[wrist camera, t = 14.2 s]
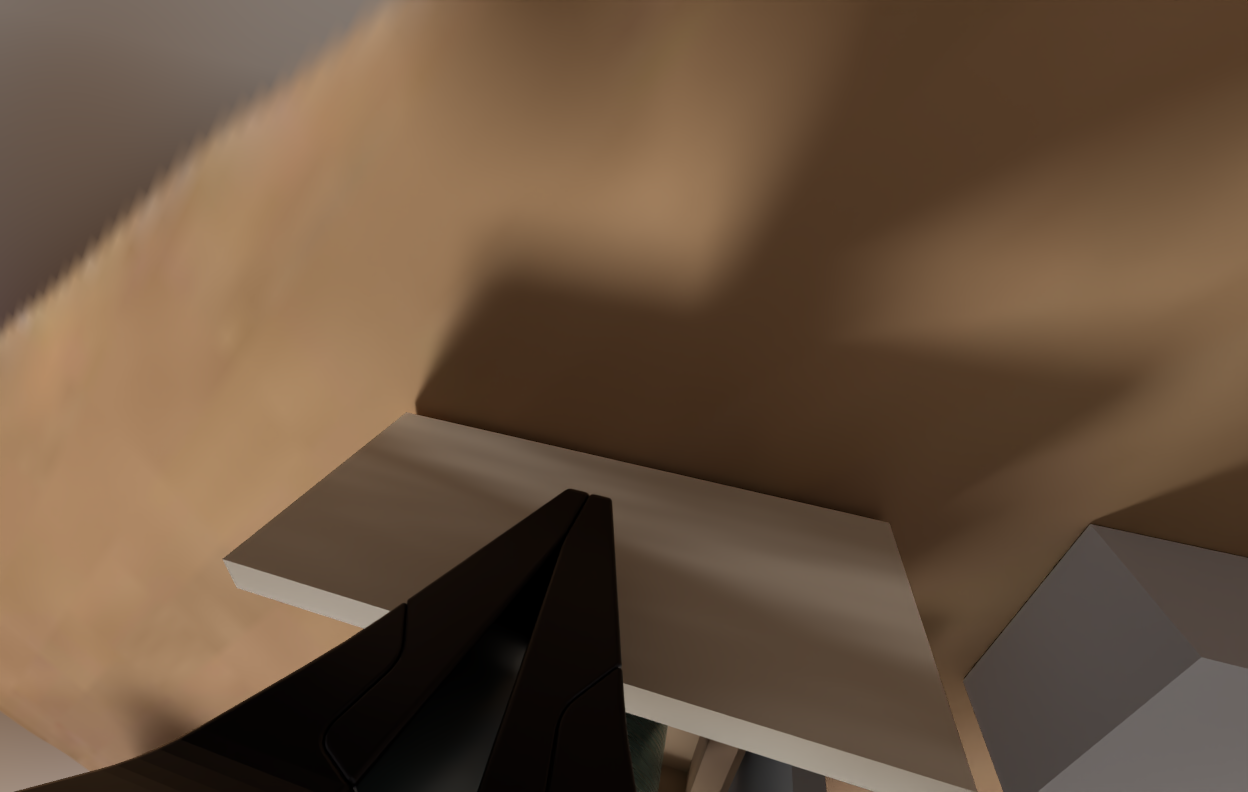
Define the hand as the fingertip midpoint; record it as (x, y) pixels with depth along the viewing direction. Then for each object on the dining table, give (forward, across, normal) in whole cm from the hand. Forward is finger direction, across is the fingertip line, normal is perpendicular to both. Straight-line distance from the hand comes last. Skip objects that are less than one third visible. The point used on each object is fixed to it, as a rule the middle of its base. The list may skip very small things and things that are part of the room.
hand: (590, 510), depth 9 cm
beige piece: (+3, 0, +8) cm, 8 cm away
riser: (+3, -13, +3) cm, 14 cm away
